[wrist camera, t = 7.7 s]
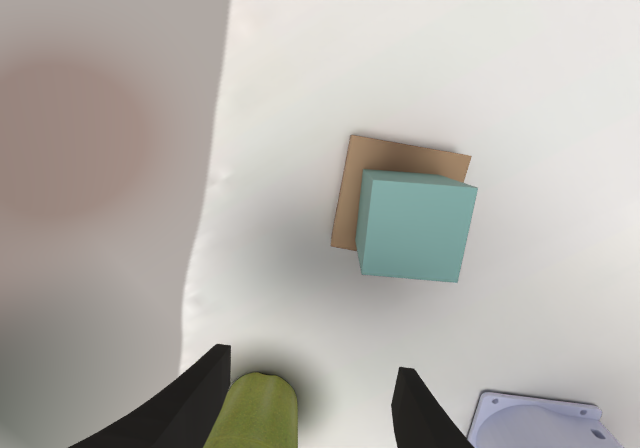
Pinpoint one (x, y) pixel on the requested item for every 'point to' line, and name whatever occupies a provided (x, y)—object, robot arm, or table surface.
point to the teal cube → (413, 225)
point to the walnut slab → (387, 159)
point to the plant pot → (257, 415)
